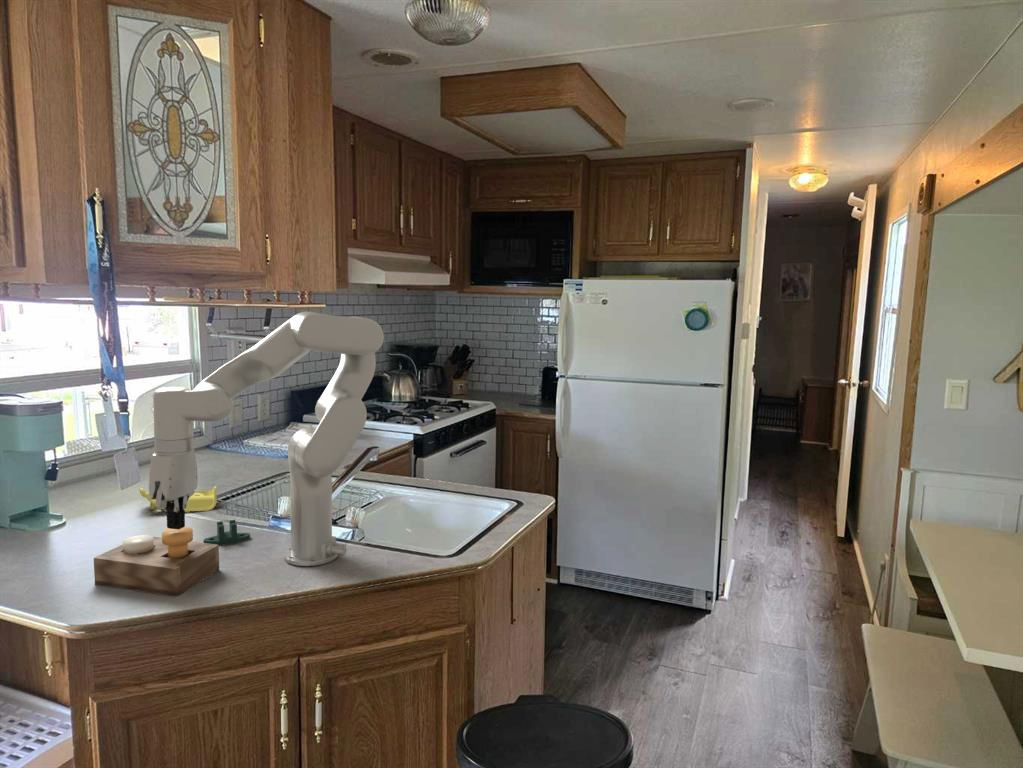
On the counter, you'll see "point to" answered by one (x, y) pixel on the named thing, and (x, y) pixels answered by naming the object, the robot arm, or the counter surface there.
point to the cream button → (138, 544)
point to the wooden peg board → (156, 568)
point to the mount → (227, 535)
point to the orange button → (177, 541)
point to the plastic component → (191, 500)
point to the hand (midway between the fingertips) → (176, 527)
